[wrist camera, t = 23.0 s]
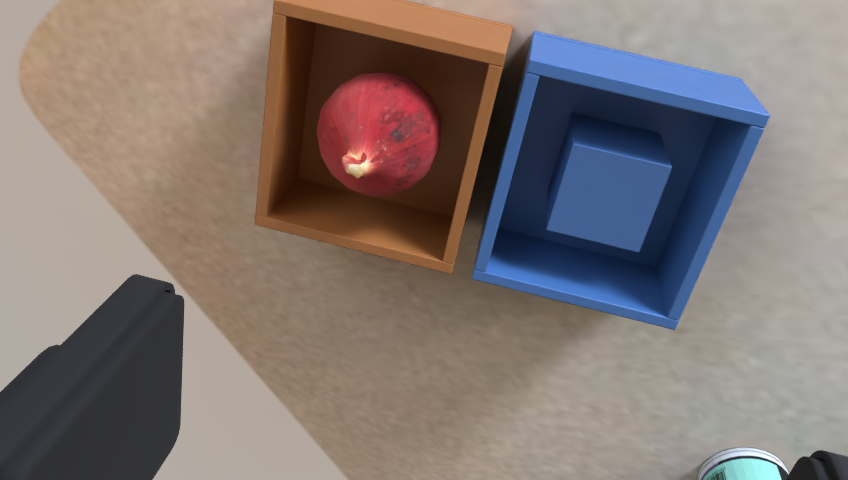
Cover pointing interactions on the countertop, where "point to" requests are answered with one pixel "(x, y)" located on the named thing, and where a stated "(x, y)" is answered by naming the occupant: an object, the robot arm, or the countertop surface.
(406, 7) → the brown bin
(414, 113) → the onion
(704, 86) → the blue bin
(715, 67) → the countertop surface
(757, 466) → the spray can
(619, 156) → the blue block
